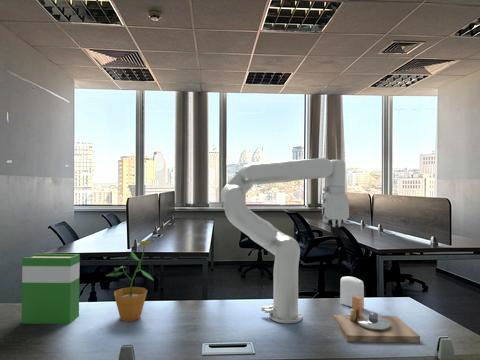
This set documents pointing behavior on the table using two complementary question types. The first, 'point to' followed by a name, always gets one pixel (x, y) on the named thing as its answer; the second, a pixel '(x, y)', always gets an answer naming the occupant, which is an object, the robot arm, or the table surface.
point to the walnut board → (360, 334)
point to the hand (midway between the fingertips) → (334, 236)
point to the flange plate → (368, 317)
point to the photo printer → (351, 290)
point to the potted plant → (130, 292)
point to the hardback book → (50, 288)
